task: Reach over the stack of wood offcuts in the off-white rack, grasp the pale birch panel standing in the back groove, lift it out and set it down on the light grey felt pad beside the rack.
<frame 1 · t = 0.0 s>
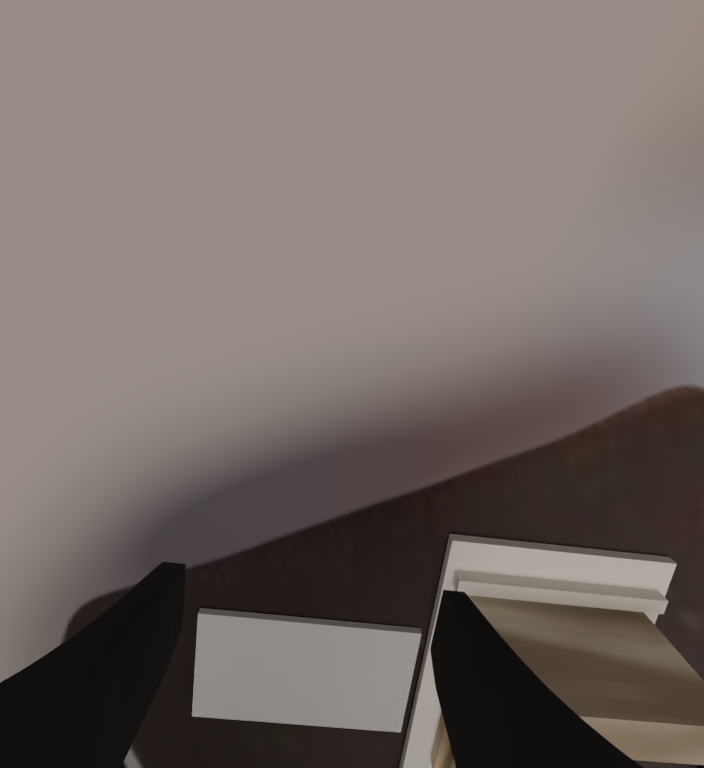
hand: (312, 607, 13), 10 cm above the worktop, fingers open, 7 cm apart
felt pad: (304, 669, 26), on the worktop
offcut stack: (514, 731, 26), resting on rack
rack: (523, 674, 26), on the worktop
birch panel: (547, 616, 24), point 1 cm above the worktop, touching rack
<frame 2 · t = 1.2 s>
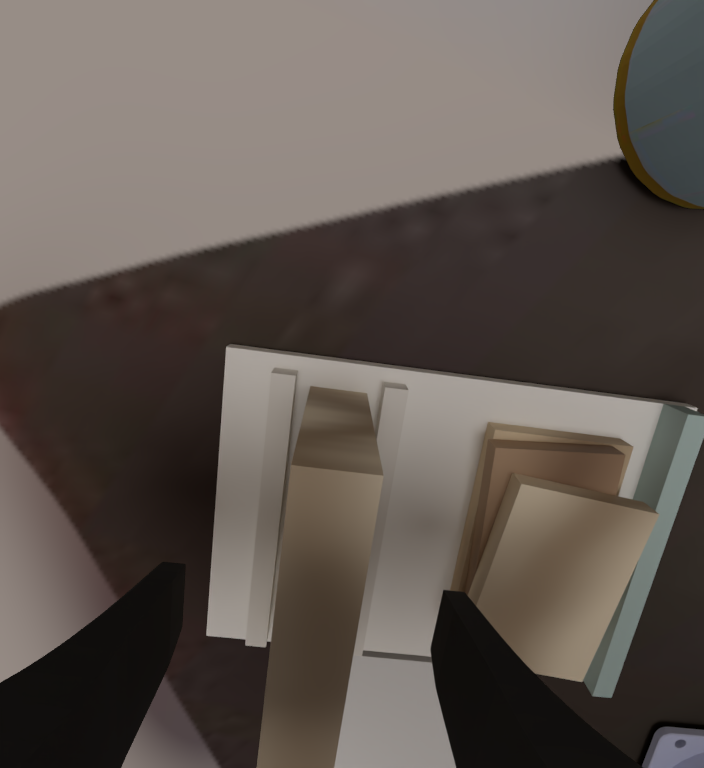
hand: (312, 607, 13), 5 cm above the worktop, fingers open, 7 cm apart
felt pad: (407, 758, 21), on the worktop
offcut stack: (526, 538, 18), resting on rack
rack: (434, 519, 18), on the worktop
birch panel: (321, 515, 17), point 1 cm above the worktop, touching rack
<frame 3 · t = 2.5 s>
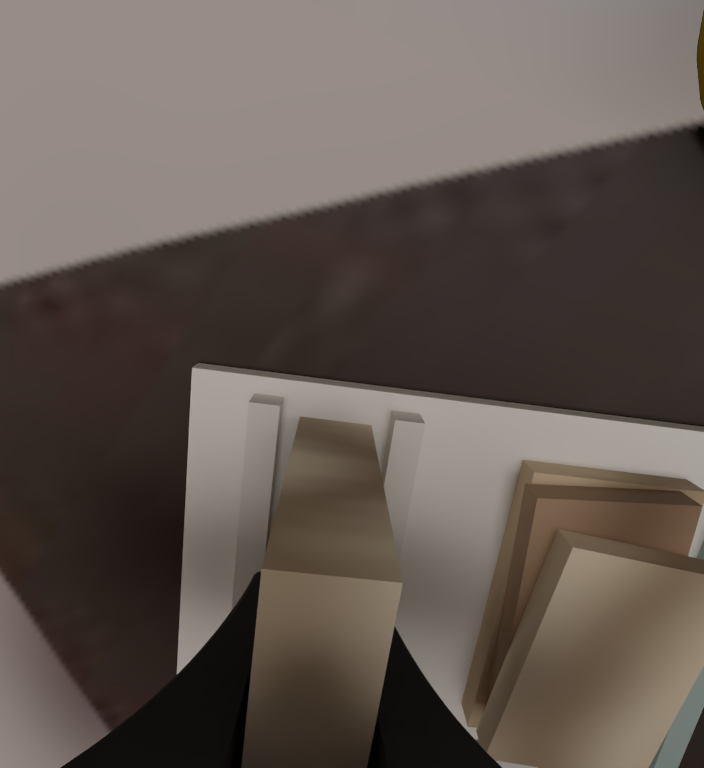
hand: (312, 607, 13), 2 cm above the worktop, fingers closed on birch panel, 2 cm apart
offcut stack: (566, 599, 14), resting on rack
rack: (453, 575, 15), on the worktop
birch panel: (314, 574, 14), point 1 cm above the worktop, touching gripper, rack
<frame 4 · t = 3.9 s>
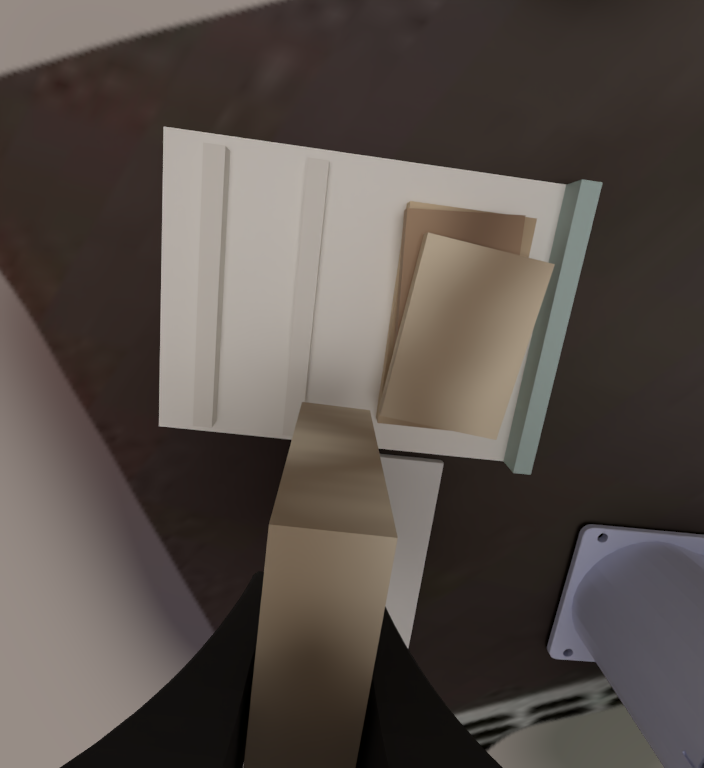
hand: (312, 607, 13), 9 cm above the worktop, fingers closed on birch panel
felt pad: (353, 561, 23), on the worktop
offcut stack: (448, 323, 19), resting on rack
rack: (366, 312, 20), on the worktop
birch panel: (316, 554, 15), point 7 cm above the worktop, touching gripper
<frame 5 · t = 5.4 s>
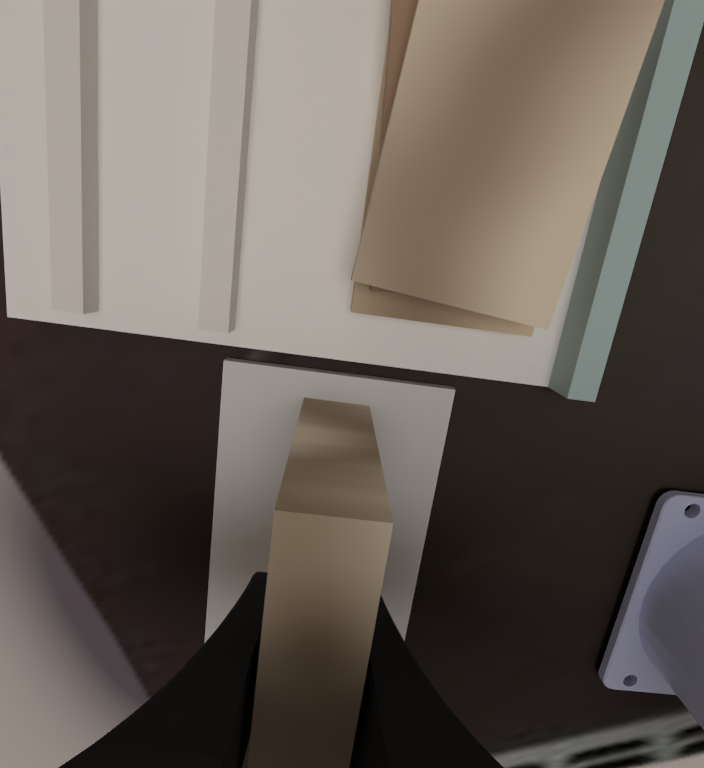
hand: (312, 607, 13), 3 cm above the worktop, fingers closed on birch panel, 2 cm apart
felt pad: (318, 541, 16), on the worktop
offcut stack: (468, 150, 12), resting on rack
rack: (336, 136, 12), on the worktop
birch panel: (317, 544, 15), resting on felt pad, touching gripper
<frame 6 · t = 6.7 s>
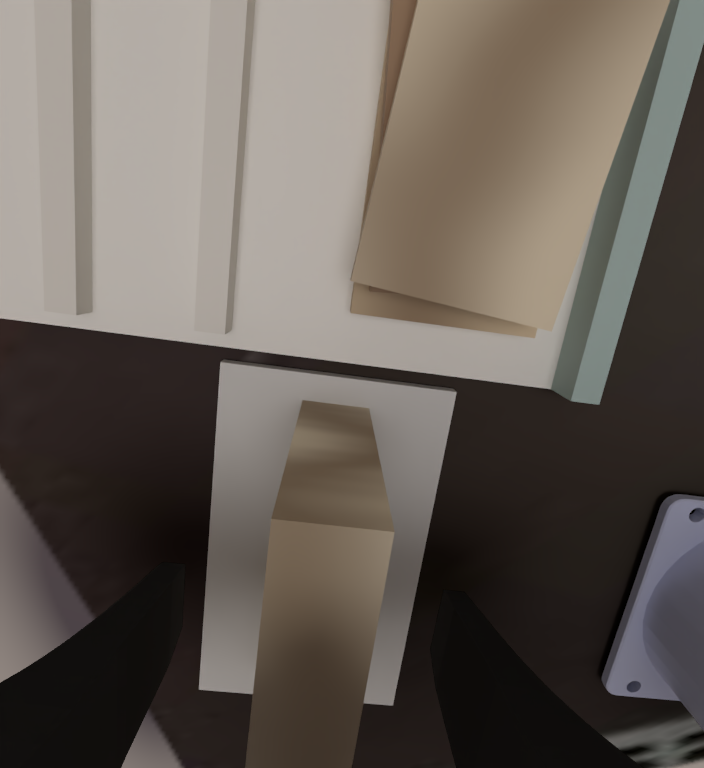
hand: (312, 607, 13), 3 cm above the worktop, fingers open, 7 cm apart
felt pad: (317, 546, 15), on the worktop
offcut stack: (469, 148, 12), resting on rack
rack: (334, 133, 12), on the worktop
birch panel: (316, 549, 15), resting on felt pad
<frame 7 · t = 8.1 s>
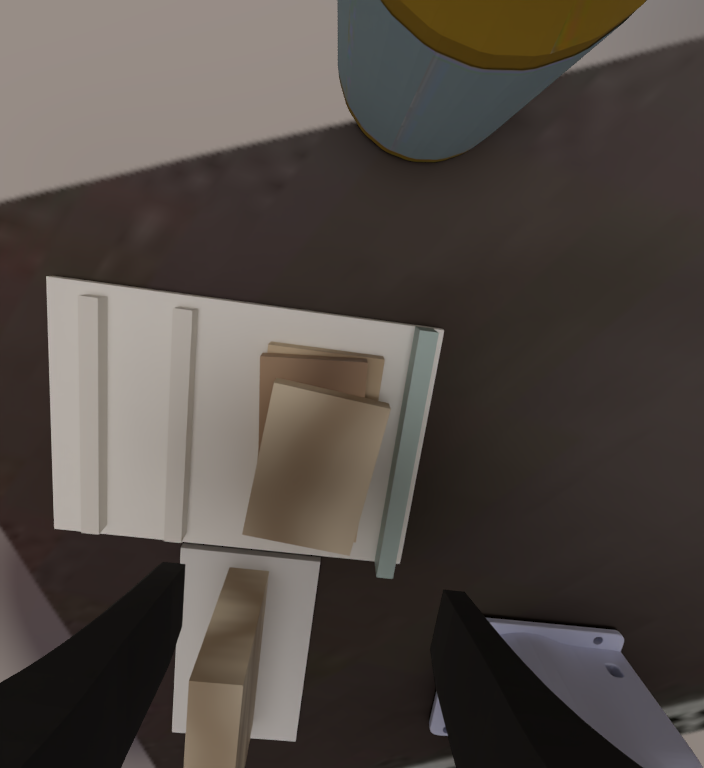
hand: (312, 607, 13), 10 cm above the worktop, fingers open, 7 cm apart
bottle: (425, 71, 18), on the worktop
felt pad: (243, 645, 25), on the worktop
offcut stack: (315, 442, 21), resting on rack
rack: (242, 429, 22), on the worktop
birch panel: (241, 648, 24), resting on felt pad
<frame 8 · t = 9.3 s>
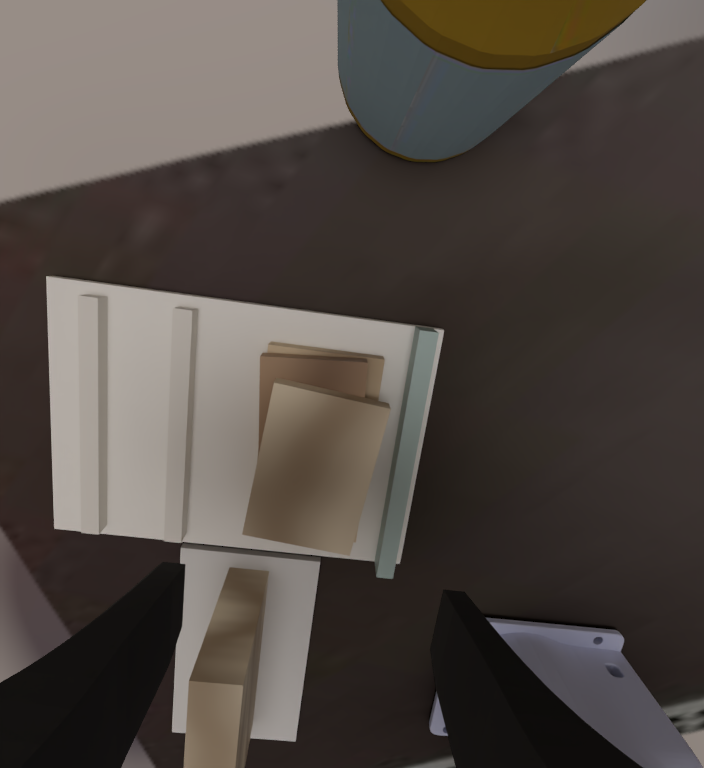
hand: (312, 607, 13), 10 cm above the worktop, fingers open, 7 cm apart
bottle: (425, 71, 18), on the worktop
felt pad: (243, 645, 25), on the worktop
offcut stack: (315, 442, 21), resting on rack
rack: (242, 429, 22), on the worktop
birch panel: (241, 648, 24), resting on felt pad
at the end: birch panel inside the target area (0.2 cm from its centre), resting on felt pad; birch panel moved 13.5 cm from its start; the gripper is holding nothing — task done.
